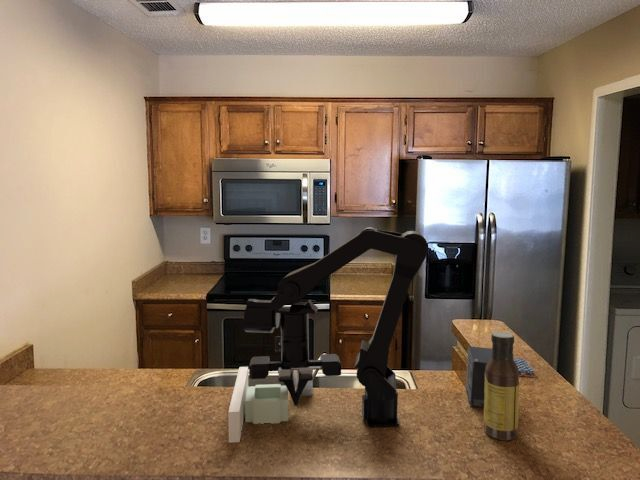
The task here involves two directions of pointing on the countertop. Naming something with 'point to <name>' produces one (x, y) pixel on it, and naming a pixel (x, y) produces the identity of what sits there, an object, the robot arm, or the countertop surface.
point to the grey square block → (307, 388)
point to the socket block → (266, 404)
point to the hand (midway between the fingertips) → (295, 405)
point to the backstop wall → (238, 405)
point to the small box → (476, 374)
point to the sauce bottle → (501, 389)
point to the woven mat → (524, 367)
